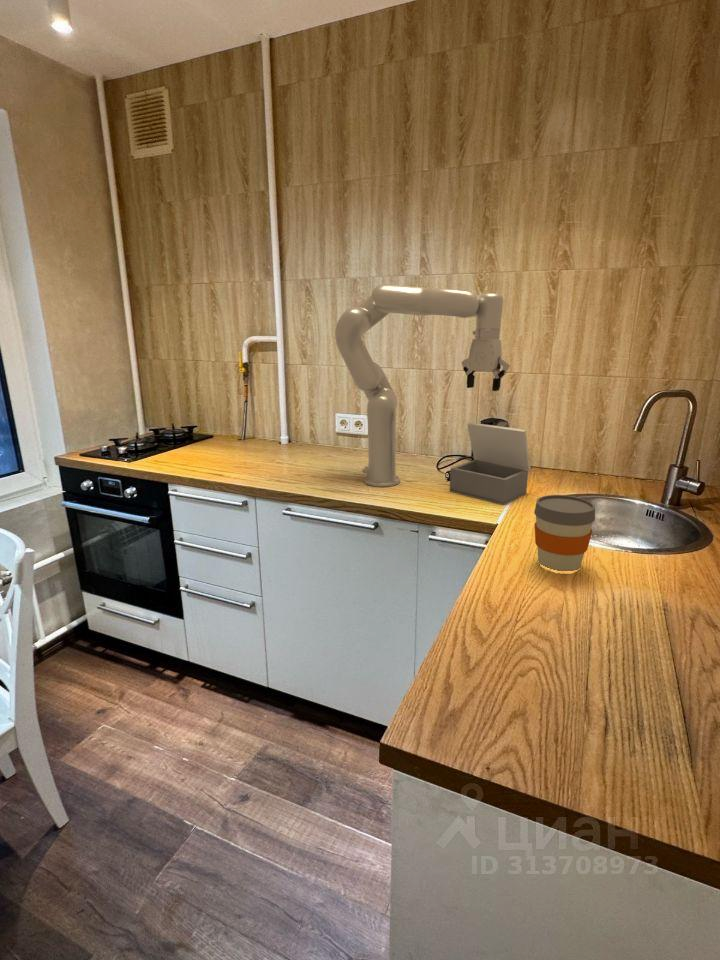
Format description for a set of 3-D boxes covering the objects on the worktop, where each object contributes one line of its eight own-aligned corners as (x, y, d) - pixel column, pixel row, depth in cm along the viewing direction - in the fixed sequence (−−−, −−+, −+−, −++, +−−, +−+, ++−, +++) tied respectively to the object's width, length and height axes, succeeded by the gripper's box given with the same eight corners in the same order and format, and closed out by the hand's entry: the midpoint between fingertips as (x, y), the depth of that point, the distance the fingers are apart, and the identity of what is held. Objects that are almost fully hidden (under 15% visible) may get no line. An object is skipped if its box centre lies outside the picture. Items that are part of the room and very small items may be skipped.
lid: (467, 423, 170) (476, 414, 173) (474, 459, 177) (483, 450, 180) (524, 431, 156) (533, 421, 159) (529, 470, 163) (537, 460, 166)
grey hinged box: (449, 491, 170) (450, 468, 167) (473, 482, 179) (474, 460, 177) (503, 505, 156) (505, 480, 154) (526, 494, 166) (528, 470, 163)
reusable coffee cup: (583, 583, 109) (591, 517, 104) (523, 569, 115) (528, 507, 111) (592, 561, 119) (600, 499, 114) (537, 549, 125) (542, 491, 121)
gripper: (458, 334, 166) (454, 387, 171) (505, 335, 154) (499, 392, 159) (471, 334, 171) (467, 385, 176) (518, 335, 159) (512, 391, 164)
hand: (482, 389), depth 168 cm, fingers open, 9 cm apart
